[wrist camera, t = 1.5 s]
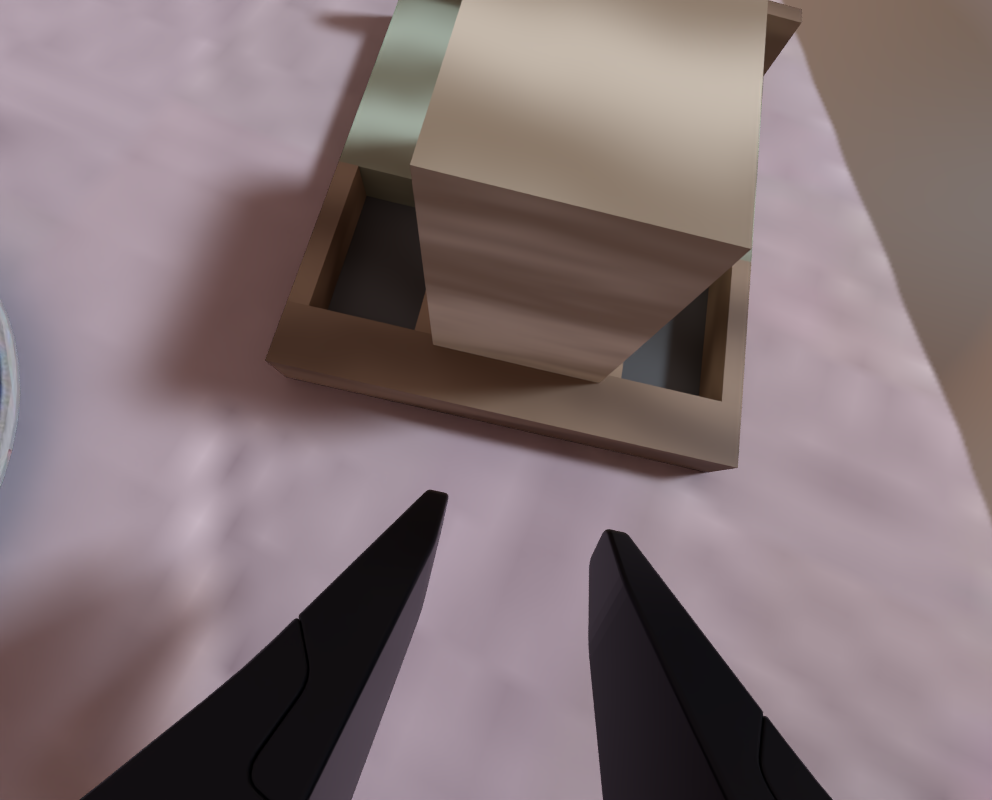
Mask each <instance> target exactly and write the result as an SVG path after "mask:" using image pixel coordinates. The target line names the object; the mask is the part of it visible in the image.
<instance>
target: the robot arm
mask: <svg viewBox="0 0 992 800" xmlns="http://www.w3.org/2000/svg"><path fill="white" fill-rule="evenodd" d="M447 502H448V494H447V493H443V492H439V491H434V490H427V491H426V492H425V493H424V494H423V495H422V496H421V497H420V498H419V499H417V500H416V501H415V502H414V503H413V504H412V505H411V506H410V507H409V508H408V509H407V510H406V511H405V512H404V513H403V514H402V515H401V516H400V517H399V518H398V519H397V520H396V521H395V522H394V523H393V524H392V525H391V526H390V527H389V528H388V529H387V530H386V531H385V532H384V533H383V534H382V535H381V536H379V537H378V538H377V539H376V540H375V541H374V542H373V543H372V544H371V545H370V546H369V547H368V548H367V549H366V550H365V551H364V552H363V553H362V554H361V555H360V556H359V557H358V558H357V559H356V560H355V561H354V562H353V563H352V564H351V565H350V566H349V567H348V568H347V569H346V570H345V571H344V572H342V573H341V574H340V575H339V576H338V577H337V578H336V579H335V580H334V581H333V582H332V583H331V584H330V585H329V586H328V587H327V588H326V589H325V590H324V591H323V592H322V593H321V594H320V595H319V596H318V597H317V598H316V599H315V600H314V601H313V602H312V603H311V604H310V605H309V606H308V607H307V608H306V609H304V610H303V611H302V612H301V613H300V614H299V619H297V618H296V619H294V620H293V621H292V622H291V623H290V624H289V625H288V626H287V627H286V628H285V629H284V630H283V631H282V632H281V633H280V634H279V635H277V636H276V637H275V638H274V639H273V640H272V641H271V642H270V643H269V644H268V645H267V646H266V647H265V648H264V649H262V650H261V651H260V652H259V653H258V654H257V655H256V656H255V657H254V658H253V659H252V660H251V661H249V662H248V663H247V664H246V665H245V666H244V667H243V668H242V669H240V670H239V671H238V672H237V673H236V674H235V675H233V676H232V677H231V678H230V679H229V680H227V681H226V682H225V683H224V684H223V685H221V686H220V687H219V688H218V689H217V690H215V691H214V692H213V693H212V694H211V695H209V696H208V697H207V698H206V699H205V700H203V701H202V702H201V703H200V704H198V705H197V706H196V707H195V708H193V709H192V710H191V711H190V712H189V713H187V714H186V715H185V716H184V717H182V718H181V719H180V720H179V721H177V722H176V723H175V724H174V725H172V726H171V727H170V728H169V729H167V730H166V731H165V732H164V733H162V734H161V735H160V736H159V737H157V738H156V739H155V740H154V741H152V742H151V743H150V744H149V745H147V746H146V747H145V748H144V749H142V750H141V751H140V752H139V753H138V754H136V755H135V756H134V757H133V758H131V759H130V760H129V761H128V762H126V763H125V764H124V765H123V766H121V767H120V768H119V769H118V770H116V771H115V772H114V773H113V774H111V775H110V776H109V777H108V778H106V779H105V780H104V781H103V782H101V783H100V784H99V785H98V786H96V787H95V788H94V789H93V790H91V791H90V792H89V793H87V794H86V795H85V796H84V797H82V798H81V799H80V800H351V799H352V797H353V794H354V791H355V788H356V786H357V783H358V780H359V778H360V775H361V772H362V770H363V767H364V764H365V762H366V759H367V756H368V754H369V751H370V748H371V745H372V743H373V740H374V737H375V735H376V732H377V729H378V727H379V724H380V721H381V719H382V716H383V713H384V711H385V708H386V705H387V703H388V700H389V697H390V694H391V692H392V689H393V686H394V684H395V681H396V678H397V676H398V673H399V670H400V668H401V665H402V662H403V660H404V657H405V654H406V651H407V649H408V646H409V643H410V641H411V638H412V635H413V633H414V630H415V627H416V625H417V622H418V619H419V616H420V613H421V610H422V606H423V603H424V599H425V595H426V591H427V587H428V583H429V579H430V575H431V571H432V566H433V562H434V558H435V554H436V550H437V546H438V542H439V538H440V534H441V529H442V525H443V520H444V516H445V511H446V506H447ZM588 641H589V660H590V670H591V680H592V691H593V701H594V711H595V722H596V732H597V742H598V753H599V763H600V773H601V784H602V794H603V800H833V799H832V798H831V797H830V796H829V795H828V793H827V792H826V791H825V790H824V789H823V787H822V786H821V785H820V784H819V783H818V781H817V780H816V779H815V778H814V776H813V775H812V774H811V772H810V771H809V770H808V769H807V767H806V766H805V765H804V764H803V762H802V761H801V760H800V759H799V757H798V756H797V755H796V753H795V752H794V751H793V750H792V748H791V747H790V746H789V745H788V743H787V742H786V741H785V739H784V738H783V737H782V735H781V734H780V733H779V732H778V730H777V729H776V728H775V726H774V725H773V724H772V722H771V721H770V720H769V718H768V717H766V716H763V711H762V710H761V708H760V707H759V706H758V704H757V703H756V702H755V700H754V699H753V698H752V696H751V695H750V694H749V692H748V691H747V690H746V689H745V687H744V686H743V685H742V683H741V682H740V681H739V679H738V678H737V677H736V675H735V674H734V673H733V672H732V670H731V669H730V668H729V666H728V665H727V664H726V662H725V661H724V660H723V658H722V657H721V656H720V654H719V653H718V652H717V651H716V649H715V648H714V647H713V645H712V644H711V643H710V641H709V640H708V639H707V637H706V636H705V635H704V633H703V632H702V631H701V630H700V628H699V627H698V626H697V624H696V623H695V622H694V620H693V619H692V618H691V616H690V615H689V614H688V613H687V611H686V610H685V609H684V607H683V606H682V605H681V603H680V602H679V601H678V599H677V598H676V597H675V595H674V594H673V593H672V592H671V590H670V589H669V588H668V586H667V585H666V584H665V582H664V581H663V580H662V578H661V577H660V576H659V574H658V573H657V572H656V571H655V569H654V568H653V567H652V565H651V564H650V563H649V561H648V560H647V559H646V557H645V556H644V555H643V554H642V552H641V551H640V550H639V548H638V547H637V546H636V544H635V543H634V542H633V540H632V539H631V538H630V537H629V535H627V534H626V533H624V532H620V531H615V530H611V529H607V530H605V531H604V532H603V534H602V536H601V538H600V540H599V542H598V544H597V546H596V548H595V550H594V552H593V554H592V557H591V560H590V565H589V626H588Z"/></svg>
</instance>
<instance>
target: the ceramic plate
mask: <svg viewBox="0 0 992 800" xmlns="http://www.w3.org/2000/svg"><path fill="white" fill-rule="evenodd" d="M19 402H20V372H19V361H18V355H17V348H16V342H15V338H14V334H13V331H12V328H11V324H10V321H9V317H8V315H7V313H6V310H5V308H4V306H3V304H2V301H1V299H0V487H1V485H2V482H3V479H4V476H5V473H6V469H7V466H8V463H9V459H10V456H11V453H12V449H13V444H14V439H15V434H16V428H17V423H18V414H19Z"/></svg>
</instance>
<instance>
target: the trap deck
mask: <svg viewBox="0 0 992 800" xmlns="http://www.w3.org/2000/svg"><path fill="white" fill-rule="evenodd" d="M461 2H462V0H398V3H397V6H396V8H395V11H394V14H393V17H392V19H391V22H390V25H389V27H388V30H387V33H386V35H385V38H384V41H383V44H382V46H381V49H380V52H379V54H378V57H377V60H376V62H375V65H374V68H373V71H372V73H371V76H370V79H369V81H368V84H367V87H366V89H365V92H364V95H363V98H362V100H361V103H360V106H359V108H358V111H357V114H356V116H355V119H354V122H353V124H352V127H351V130H350V133H349V135H348V138H347V141H346V143H345V146H344V149H343V151H342V154H341V157H340V160H339V162H338V165H337V168H336V170H335V173H334V176H333V178H332V181H331V184H330V187H329V189H328V192H327V195H326V197H325V200H324V203H323V205H322V208H321V211H320V214H319V216H318V219H317V222H316V224H315V227H314V230H313V232H312V235H311V238H310V240H309V243H308V246H307V249H306V251H305V254H304V257H303V259H302V262H301V265H300V267H299V270H298V273H297V276H296V278H295V281H294V284H293V286H292V289H291V292H290V294H289V297H288V300H287V303H286V305H285V308H284V311H283V313H282V316H281V319H280V321H279V324H278V327H277V330H276V332H275V335H274V338H273V340H272V343H271V346H270V348H269V351H268V354H267V356H266V359H265V361H267V362H268V363H269V364H270V365H272V366H273V367H274V368H275V369H277V370H278V371H279V372H280V373H282V374H283V375H284V376H285V377H289V378H293V379H298V380H302V381H306V382H311V383H315V384H320V385H324V386H328V387H333V388H337V389H342V390H346V391H351V392H355V393H359V394H364V395H368V396H373V397H377V398H381V399H386V400H390V401H395V402H399V403H404V404H408V405H412V406H417V407H421V408H426V409H430V410H434V411H439V412H443V413H448V414H452V415H457V416H461V417H465V418H470V419H474V420H479V421H483V422H487V423H492V424H496V425H501V426H505V427H510V428H514V429H518V430H523V431H527V432H532V433H536V434H540V435H545V436H549V437H554V438H558V439H563V440H567V441H571V442H576V443H580V444H585V445H589V446H593V447H598V448H602V449H607V450H611V451H616V452H620V453H624V454H629V455H633V456H638V457H642V458H646V459H651V460H655V461H660V462H664V463H669V464H673V465H677V466H682V467H686V468H691V469H695V470H700V471H704V472H713V471H720V470H726V469H733V468H738V456H739V440H740V425H741V410H742V395H743V380H744V365H745V349H746V334H747V319H748V304H749V289H750V274H751V258H752V249H751V250H750V251H749V252H747V253H746V254H745V255H744V256H743V257H742V258H741V259H740V260H738V261H737V262H736V263H735V264H734V265H733V266H732V267H730V268H729V269H728V270H727V271H726V272H725V273H724V274H723V275H721V276H720V277H719V278H718V279H717V280H716V281H715V282H713V283H712V284H711V285H710V286H709V287H708V288H707V289H706V290H704V291H703V292H702V293H701V294H700V295H699V296H698V297H696V298H695V299H694V300H693V301H692V302H691V303H690V304H689V305H687V306H686V307H685V308H684V309H683V310H682V311H681V312H679V313H678V314H677V315H676V316H675V317H674V318H673V319H672V320H670V321H669V322H668V323H667V324H666V325H665V326H664V327H662V328H661V329H660V330H659V331H658V332H657V333H656V334H655V335H653V336H652V337H651V338H650V339H649V340H648V341H647V342H645V343H644V344H643V345H642V346H641V347H640V348H639V349H638V350H636V351H635V352H634V353H633V354H632V355H631V356H630V357H628V358H627V359H626V360H625V361H624V362H623V363H622V364H621V365H619V366H618V367H617V368H616V369H615V370H614V371H613V372H611V373H610V374H609V375H608V376H607V377H606V378H605V379H604V380H602V381H601V382H600V383H596V382H592V381H588V380H584V379H579V378H575V377H571V376H566V375H562V374H558V373H553V372H549V371H545V370H540V369H536V368H532V367H527V366H523V365H519V364H514V363H510V362H506V361H502V360H497V359H493V358H489V357H484V356H480V355H476V354H471V353H467V352H463V351H458V350H454V349H450V348H445V347H441V346H437V345H433V340H432V332H431V325H430V317H429V309H428V301H427V294H426V286H425V278H424V271H423V263H422V255H421V247H420V240H419V232H418V224H417V217H416V209H415V201H414V193H413V186H412V178H411V170H410V163H411V159H412V156H413V153H414V150H415V147H416V144H417V141H418V137H419V134H420V131H421V128H422V125H423V122H424V119H425V115H426V112H427V109H428V106H429V103H430V100H431V97H432V93H433V90H434V87H435V84H436V81H437V78H438V75H439V72H440V68H441V65H442V62H443V59H444V56H445V53H446V50H447V46H448V43H449V40H450V37H451V34H452V31H453V28H454V24H455V21H456V18H457V15H458V12H459V9H460V6H461ZM801 21H802V9H799V8H795V7H791V6H788V5H784V4H780V3H777V2H773V1H769V0H768V8H767V23H766V38H765V53H764V68H763V76H764V75H765V73H766V72H767V70H768V69H769V68H770V66H771V65H772V63H773V62H774V61H775V59H776V58H777V56H778V55H779V54H780V52H781V51H782V49H783V48H784V46H785V45H786V44H787V42H788V41H789V39H790V38H791V37H792V35H793V34H794V32H795V31H796V30H797V28H798V27H799V25H800V24H801ZM762 92H763V83H762ZM761 107H762V99H761ZM760 122H761V114H760ZM759 137H760V129H759ZM758 152H759V144H758ZM757 167H758V159H757ZM756 183H757V174H756ZM755 198H756V189H755ZM754 213H755V204H754ZM753 228H754V219H753ZM752 243H753V234H752Z"/></svg>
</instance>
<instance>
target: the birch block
mask: <svg viewBox="0 0 992 800" xmlns="http://www.w3.org/2000/svg"><path fill="white" fill-rule="evenodd" d="M767 8H768V0H462V2H461V6H460V9H459V12H458V15H457V18H456V21H455V24H454V28H453V31H452V34H451V37H450V40H449V43H448V46H447V50H446V53H445V56H444V59H443V62H442V65H441V68H440V72H439V75H438V78H437V81H436V84H435V87H434V90H433V93H432V97H431V100H430V103H429V106H428V109H427V112H426V115H425V119H424V122H423V125H422V128H421V131H420V134H419V137H418V141H417V144H416V147H415V150H414V153H413V156H412V159H411V163H410V170H411V178H412V186H413V193H414V201H415V209H416V217H417V224H418V232H419V240H420V247H421V255H422V263H423V271H424V278H425V286H426V294H427V301H428V309H429V317H430V325H431V332H432V340H433V345H437V346H441V347H445V348H450V349H454V350H458V351H463V352H467V353H471V354H476V355H480V356H484V357H489V358H493V359H497V360H502V361H506V362H510V363H514V364H519V365H523V366H527V367H532V368H536V369H540V370H545V371H549V372H553V373H558V374H562V375H566V376H571V377H575V378H579V379H584V380H588V381H592V382H596V383H600V382H601V381H602V380H604V379H605V378H606V377H607V376H608V375H609V374H610V373H611V372H613V371H614V370H615V369H616V368H617V367H618V366H619V365H621V364H622V363H623V362H624V361H625V360H626V359H627V358H628V357H630V356H631V355H632V354H633V353H634V352H635V351H636V350H638V349H639V348H640V347H641V346H642V345H643V344H644V343H645V342H647V341H648V340H649V339H650V338H651V337H652V336H653V335H655V334H656V333H657V332H658V331H659V330H660V329H661V328H662V327H664V326H665V325H666V324H667V323H668V322H669V321H670V320H672V319H673V318H674V317H675V316H676V315H677V314H678V313H679V312H681V311H682V310H683V309H684V308H685V307H686V306H687V305H689V304H690V303H691V302H692V301H693V300H694V299H695V298H696V297H698V296H699V295H700V294H701V293H702V292H703V291H704V290H706V289H707V288H708V287H709V286H710V285H711V284H712V283H713V282H715V281H716V280H717V279H718V278H719V277H720V276H721V275H723V274H724V273H725V272H726V271H727V270H728V269H729V268H730V267H732V266H733V265H734V264H735V263H736V262H737V261H738V260H740V259H741V258H742V257H743V256H744V255H745V254H746V253H747V252H749V251H750V250H751V249H752V234H753V219H754V204H755V189H756V174H757V159H758V144H759V129H760V114H761V99H762V83H763V68H764V53H765V38H766V23H767Z"/></svg>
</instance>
